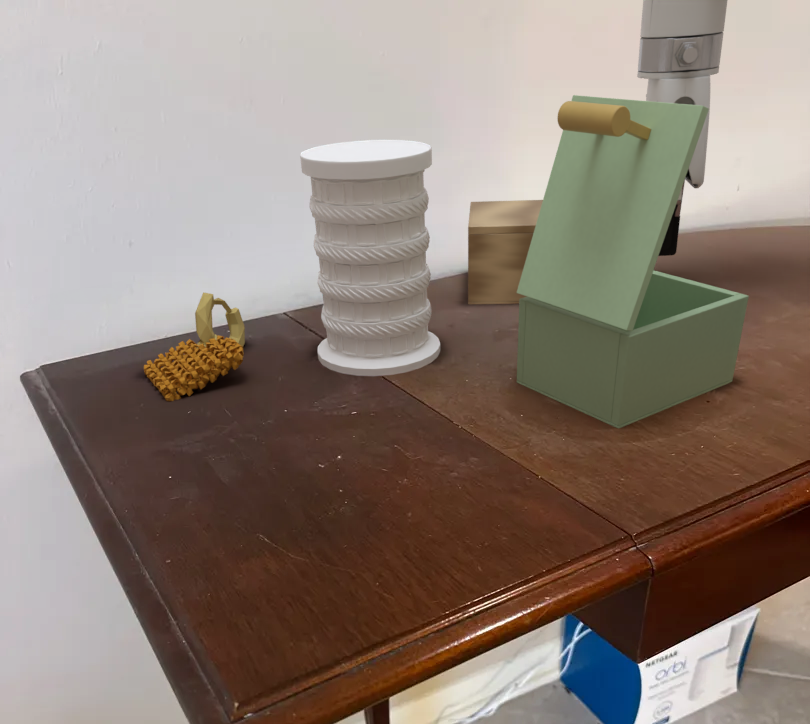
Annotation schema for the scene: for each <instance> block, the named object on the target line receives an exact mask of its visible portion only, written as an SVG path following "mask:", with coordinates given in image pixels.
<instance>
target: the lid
mask: <svg viewBox="0 0 810 724" xmlns="http://www.w3.org/2000/svg"><path fill="white" fill-rule="evenodd" d="M708 110H709V109H708V108H707V107H705V106H700V105H688V104H676V103H663V102H651V101H646V100H637V99H625V98H614V97H613V98H612V97H602V96H601V97H600V96H590V95H589V96H588V95H577V94H576V95H575V94H574V95H572V98H571V100H566V101H565V102H563V103H562V105H561V106H560V107H559V109H558V112H557V124H558V127H559V128H560V129H561V130H562V133H561V136H560V140H559V144H558V147H557V150H556V153H555V156H554V161H553V164H552V167H551V171H550V174H549V178H548V181H547V185H546V188H545V192H544V195H543V199H542V200H543V202H542V205H541V209H540V212H539V216H538V219H537V223H536V226H535V230H534V233H533V237H532V240H531V244H530V247H529V251H528V254H527V258H526V261H525V265H524V268H523V272H522V275H521V279H520V282H519V286H518V289H517V293H518V294H521V295H524V296H527V297H530V298H533V299H535V300H538V301H541V302H544V303H547V304H550V305H553V306H556V307H559V308H562V309H565V310H568V311H571V312H574V313H577V314H580V315H582V316H585V317H588V318H591V319H594V320H597V321H600V322H603V323H606V324H609V325H612V326H615V327H618V328H621V329H624V330H627V331H633V328H634V325H635V322H636V319H637V316H638V314H639V311H640V308H641V305H642V302H643V299H644V296H645V293H646V290H647V287H648V285H649V282H650V279H651V276H652V273H653V270H654V271H655V267H656V264H657V261H658V258H659V256H658V255H659V253H660V250H661V247H662V244H663V241H664V238H665V235H666V232H667V229H668V226H669V224H670V221H671V218H672V215H673V212H674V209H675V206H676V203H677V200H678V197H679V195H680V192H681V189H682V186H683V183H684V180H685V177H686V174H687V171H688V168H689V166H690V163H691V160H692V157H693V154H694V151H695V148H696V145H697V142H698V139H699V137H700V134H701V131H702V128H703V125H704V122H705V119H706V116H707V113H708ZM685 181H686V180H685ZM684 184H685V183H684Z"/></svg>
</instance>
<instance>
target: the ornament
mask: <svg viewBox="0 0 810 724" xmlns="http://www.w3.org/2000/svg"><path fill="white" fill-rule="evenodd" d="M215 305H216V306H217V305H218V306H222V307H223V309H224V310H225V319H226V323H227V326H228V330H229V337H225V336H223V335H219V334H216V333H215V332H214V329H213V309H214V307H215ZM194 317H195V318H194V319H195V331H196V334H197V336H198V338H199V340H198V342H197V343H196V342H195V341H194V340H192V339H191V338H189V339H188V340H187V341H186V342H185V341H184V340H181V341H180V342H179V343H177V344H178V345H176V346H175V348H174V347H173V346H171V347H170V348H169V350H168V352H164V354H163V353H159V354H157V357H158V358H155V359H154V360H151V359H149V360H147V361H146V364H143V373H144V375H145V376H146V378H148V379H149V381H150V382H151V383H152V384H153V386H154V387H156V388H157V390H158V392H159V393H161V395H162V396H163V397H164V399H165V400H164V401H166V402H174V401H175V400H180V399H182V397H181V396H186V395H187V396H188V397H190V396H192V395H193V393H194V391H193V390H197V389H199V390H203V389H204V388H205V387H206V386H207V384H208V383H209V382H210V383H212V384H213V383H215V382H216V381H217V380H218V377H219V376H220V375H221V376H222V377H224V376H226V375H228V374H229V371H230V370H231V369H232V370H234V371H236V370H237V369H238V368H239V367H240V366H241V365H242V363H243V362H244V359H243V358H244V355H245V353H244V345H245V344H246V333H245V331H246V327H245V324H244V323H245V322H244V321H243V317H242V315H241V311H240V309H239V308H238V307H233V308H231V307H230V305H228V303H227V301H226V300H224V299H222V298H220V297H217V298H216V297H214V293H209V292H202V295H201V296H200V300H199V302H198V304H197V307H196V310H195V312H194Z"/></svg>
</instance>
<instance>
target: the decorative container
mask: <svg viewBox="0 0 810 724" xmlns="http://www.w3.org/2000/svg"><path fill="white" fill-rule="evenodd" d="M432 151H433V150H432V146H431V144H428V143H427V142H423V141H418V140H409V139H408V140H407V139H366V140H365V139H364V140H351V141H341V142H334V143H328V144H322V145H317V146H314V147H310V148H308V149H305V150H303V151H301V152H300V155H299V157H300V166H301V167H300V168H301V173H302V174H304V175H305V176H307V177H310V185H311V193H312V194H311V195H310V199H309V210H310V213H311V216H312V218H314V225H315V234H314V240H313V248H314V251H315V255H316V256H317V257H318V263H319V271H318V275H317V286H318V288H319V292H320V293H321V294H322V301H323V305H322V306H321V314H320V318H321V319H320V320H321V322H322V324H323V327H324V328H325V331H326V337H325V338H324V339H323V340H322V341H320V343H319V345H318V346H317V359H318V361H319V362H320V364H321V365H322V366H323V367H324V368H326V369H329V370H330V371H332V372H336V373H338V374H344V375H350V376H356V377H381V376H393V375H399V374H404V373H409V372H412V371H415V370H418V369H419V370H420V369H421V368H423V367H425V366H427V365H429V364H431V363H432V362H434V361H436V359H438V357H439V355H440V353H441V342H440V338H439V337H438V336H437V335H436V334H435V333H433V332H431V331H429V323H430V321H431V319H432V317H431V316H432V314H433V313H432V311H433V308H432V304H431V302H430V299H429V298H428V288H429V286H430V284H431V280H432V279H431V277H432V274H431V270H430V267H429V265H428V263H427V251H428V249H429V248H430V245H429V244H430V241H431V240H430V238H431V237H430V233H429V229H428V228H427V227H428V226H426V219H425V218H426V216H425V215H426V214H425V213H426V211H427V210H428V205H429V194H428V191H427V189H426V188H425V184H424V181H425V180H424V172H425V170H427V169H429V168H430V167H431V166H432V165H433V153H432Z"/></svg>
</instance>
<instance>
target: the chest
mask: <svg viewBox="0 0 810 724" xmlns="http://www.w3.org/2000/svg"><path fill="white" fill-rule="evenodd" d="M749 297H750V296H749V294H748V295H747V294H745V293H740V292H737V291H733V290H729V289H725V288H722V287H718V286H714V285H711V284H707V283H703V282H700V281H695V280H692V279H687V278H684V277H680V276H677V275H673V274H669V273H665V272H662V271H658V270H655V269H654V270H653V273H652V276H651V279H650V282H649V285H648V287H647V290H646V293H645V296H644V299H643V302H642V305H641V308H640V311H639V314H638V316H637V319H636V322H635V325H634V328H633V331H627V330H624V329H621V328H618V327H615V326H612V325H609V324H606V323H603V322H600V321H597V320H594V319H591V318H588V317H585V316H582V315H580V314H577V313H574V312H571V311H568V310H565V309H562V308H559V307H556V306H553V305H550V304H547V303H544V302H541V301H538V300H535V299H533V298H530V297H524V298H521V299H519V304H518V328H517V329H518V331H517V356H516V357H517V358H516V383H517V384H519V385H521V386H524V387H525V388H528V389H530V390H532V391H535V392H537V393H539V394H541V395H543V396H546V397H548V398H550V399H552V400H555V401H556V402H559V403H561V404H564V406H565V405H566V406H567V407H570V408H572V409H574V410H576V411H579V412H581V413H583V414H585V415H587V416H590V417H592V418H594V419H596V420H598V421H601V422H603V423H605V424H607V425H609V426H611V427H614V428H616V429H621V428H624V427H626V426H628V425H631V424H633V423H635V422H638V421H640V420H643V419H645V418H648V417H651V416H653V415H655V414H658V413H660V412H663V411H665V410H667V409H670V408H673V407H675V406H677V405H679V404H682V403H684V402H686V401H689V400H691V399H694V398H697V397H698V396H701V395H704V394H706V393H708V392H711V391H713V390H715V389H718V388H720V387H723V386H725V385H728V384H730V383H732V382H733V379H734V374H735V369H736V364H737V360H738V353H739V348H740V345H741V344H740V343H741V340H742V339H741V338H742V333H743V330H744V329H743V328H744V323H745V317H746V314H747V313H746V312H747V308H748V302H749Z"/></svg>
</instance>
